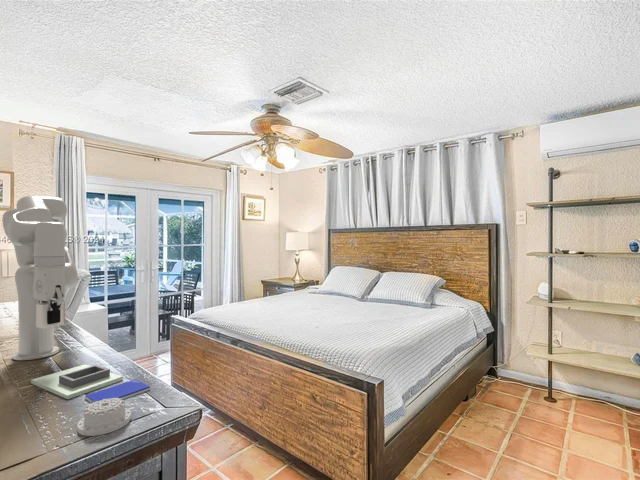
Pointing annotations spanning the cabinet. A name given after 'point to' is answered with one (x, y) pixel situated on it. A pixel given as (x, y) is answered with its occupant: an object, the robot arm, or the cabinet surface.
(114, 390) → the hard drive
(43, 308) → the plug
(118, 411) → the mechanical component
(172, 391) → the cabinet surface
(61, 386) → the socket board
